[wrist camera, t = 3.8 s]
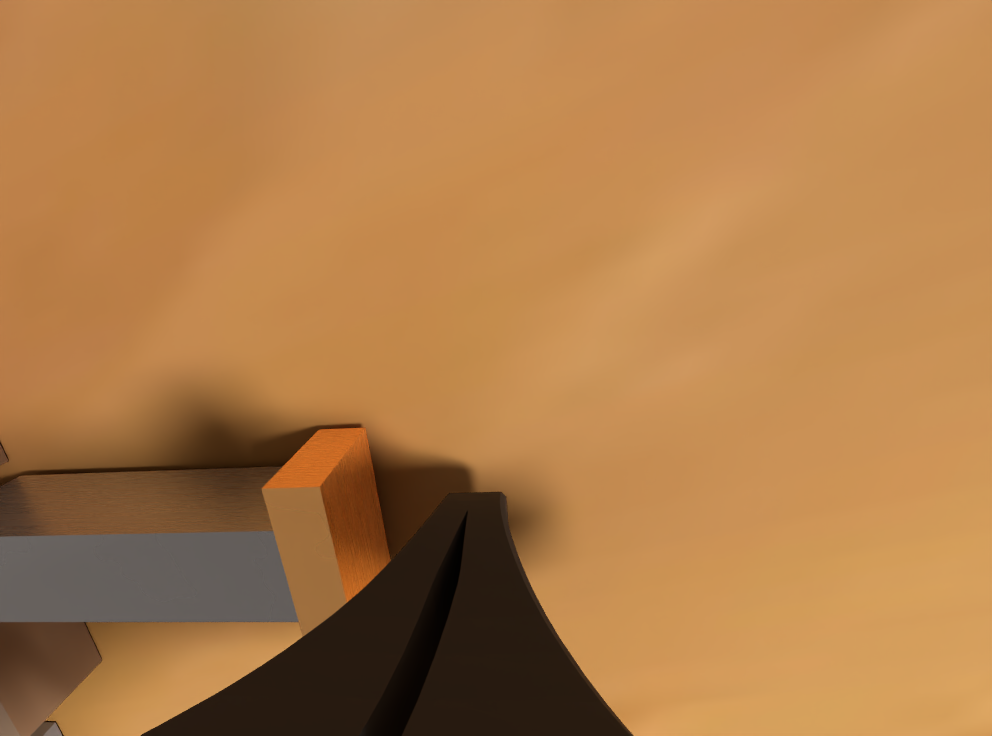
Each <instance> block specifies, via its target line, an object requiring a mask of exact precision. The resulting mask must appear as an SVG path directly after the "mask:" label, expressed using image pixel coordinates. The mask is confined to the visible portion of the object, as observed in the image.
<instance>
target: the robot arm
mask: <svg viewBox="0 0 992 736" xmlns="http://www.w3.org/2000/svg"><path fill="white" fill-rule="evenodd" d="M141 736H633V735H632V734H631V732H630V731H629V730H628V729H627V728H626V727H625V725H624V724H623V723H622V722H621V721H620V719H619V718H618V717H617V716H616V715H615V713H614V712H613V711H612V710H611V708H610V707H609V706H608V705H607V704H606V702H605V701H604V700H603V698H602V697H601V696H600V694H599V693H598V692H597V690H596V689H595V688H594V687H593V685H592V684H591V683H590V681H589V680H588V679H587V677H586V676H585V675H584V673H583V672H582V670H581V669H580V667H579V666H578V664H577V663H576V661H575V660H574V658H573V657H572V655H571V654H570V652H569V651H568V649H567V648H566V647H565V645H564V644H563V642H562V641H561V639H560V638H559V636H558V634H557V633H556V631H555V629H554V628H553V626H552V624H551V623H550V621H549V619H548V617H547V616H546V614H545V612H544V610H543V608H542V606H541V605H540V603H539V601H538V599H537V597H536V595H535V593H534V591H533V589H532V587H531V585H530V583H529V580H528V578H527V576H526V574H525V571H524V569H523V567H522V564H521V562H520V559H519V557H518V554H517V551H516V548H515V545H514V542H513V539H512V536H511V533H510V529H509V525H508V513H507V501H506V496H505V495H504V494H503V493H502V492H478V493H449V494H448V495H447V496H446V497H445V499H444V500H443V501H442V502H441V503H440V505H439V506H438V507H437V508H436V510H435V511H434V512H433V513H432V515H431V516H430V517H429V518H428V519H427V521H426V522H425V523H424V524H423V525H422V527H421V528H420V529H419V530H418V531H417V532H416V534H415V535H414V536H413V537H412V538H411V539H410V540H409V542H408V543H407V544H406V545H405V546H404V547H403V548H402V550H401V551H400V552H399V553H398V554H397V555H396V556H395V557H394V558H393V559H392V560H391V561H390V562H389V563H388V564H387V565H386V566H385V567H384V568H383V569H382V570H381V571H380V572H379V573H378V574H377V575H376V576H375V577H374V579H372V580H371V581H370V582H369V583H368V584H367V585H366V586H365V587H364V588H363V589H362V590H361V591H360V592H359V593H358V594H356V595H355V596H354V597H353V598H352V599H351V600H349V601H348V602H347V603H346V604H345V605H343V606H342V607H341V608H340V609H339V610H338V611H336V612H335V613H334V614H333V615H331V616H330V617H329V618H328V619H326V620H325V621H324V622H322V623H321V624H319V625H318V626H317V627H315V628H314V629H313V630H311V631H310V632H309V633H307V634H306V635H305V636H303V637H302V638H301V639H299V640H298V641H297V642H295V643H294V644H293V645H291V646H290V647H289V648H287V649H286V650H284V651H283V652H281V653H280V654H278V655H277V656H275V657H274V658H272V659H271V660H269V661H268V662H266V663H265V664H263V665H262V666H260V667H259V668H257V669H256V670H254V671H252V672H251V673H249V674H248V675H246V676H244V677H243V678H241V679H240V680H238V681H236V682H235V683H233V684H232V685H230V686H228V687H227V688H225V689H223V690H222V691H220V692H218V693H217V694H215V695H213V696H211V697H210V698H208V699H206V700H204V701H202V702H200V703H199V704H197V705H195V706H193V707H191V708H190V709H188V710H186V711H184V712H182V713H181V714H179V715H177V716H175V717H173V718H172V719H170V720H168V721H166V722H164V723H163V724H161V725H159V726H157V727H155V728H153V729H151V730H149V731H148V732H146V733H144V734H142V735H141Z"/></svg>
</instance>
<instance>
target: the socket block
mask: <svg viewBox="0 0 992 736" xmlns="http://www.w3.org/2000/svg"><path fill="white" fill-rule="evenodd" d="M6 462H8V459H7V457H6V455H5V453H4V451H3V449H2V447H1V444H0V465H2V464H4V463H6ZM101 661H102V659H101V657H100V655H99V653H98V651H97V649H96V647H95V644H94V642H93V640H92V638H91V636H90V634H89V632H88V629H87V627H86V625H85V623H84V622H0V736H30V735H31V734H32V733H33V732H34V731H35V730H36V729H37V728H38V727H39V726H40V725H41V724H42V723H43V722H44V721H45V720H46V719H47V718H48V717H49V716H50V715H51V714H52V712H53V711H54V710H55V709H56V708H57V707H58V706H59V705H60V704H61V703H62V702H63V701H64V700H65V699H66V698H67V697H68V696H69V695H70V694H71V693H72V692H73V691H74V689H75V688H76V687H77V686H78V685H79V684H80V683H81V682H82V681H83V680H84V679H85V678H86V677H87V676H88V675H89V674H90V673H91V672H92V671H93V670H94V669H95V668H96V666H97V665H98V664H99V663H100V662H101Z"/></svg>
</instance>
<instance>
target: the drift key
mask: <svg viewBox="0 0 992 736" xmlns="http://www.w3.org/2000/svg"><path fill="white" fill-rule="evenodd" d="M389 562H390V555H389V550H388V545H387V539H386V534H385V529H384V524H383V518H382V513H381V508H380V503H379V497H378V492H377V487H376V482H375V476H374V471H373V466H372V461H371V455H370V450H369V445H368V439H367V434H366V429H365V428H345V429H322V430H318V431H317V432H316V433H315V434H314V435H313V436H312V437H311V438H310V439H309V440H308V441H307V442H306V443H305V444H304V445H303V446H302V447H301V449H300V450H299V451H298V452H297V453H296V454H295V455H294V456H293V457H292V458H291V459H290V460H289V461H288V462H287V463H286V464H285V465H284V466H279V467H251V468H223V469H194V470H166V471H138V472H109V473H81V474H53V475H24V476H19V477H17V478H15V479H13V480H11V481H9V482H7V483H6V484H4V485H2V486H0V622H299V624H300V628H301V631H302V635H303V636H305V635H306V634H307V633H309V632H310V631H311V630H313V629H314V628H315V627H317V626H318V625H319V624H321V623H322V622H324V621H325V620H326V619H328V618H329V617H330V616H331V615H333V614H334V613H335V612H336V611H338V610H339V609H340V608H341V607H342V606H343V605H345V604H346V603H347V602H348V601H349V600H351V599H352V598H353V597H354V596H355V595H356V594H358V593H359V592H360V591H361V590H362V589H363V588H364V587H365V586H366V585H367V584H368V583H369V582H370V581H371V580H372V579H374V577H375V576H376V575H377V574H378V573H379V572H380V571H381V570H382V569H383V568H384V567H385V566H386V565H387V564H388V563H389Z"/></svg>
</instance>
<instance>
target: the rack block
mask: <svg viewBox="0 0 992 736" xmlns="http://www.w3.org/2000/svg"><path fill="white" fill-rule="evenodd" d="M30 736H62V734H61V732H60V730H59V728H58V726H57V725H56V723H55V722H43V723H42V724H41V725H40V726H39V727H38V728H37V729H36V730H35V731H34V732H33V733H32V734H31V735H30Z"/></svg>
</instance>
